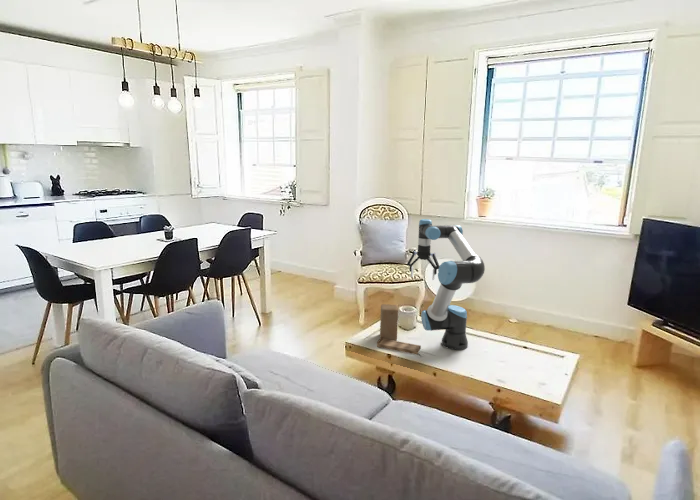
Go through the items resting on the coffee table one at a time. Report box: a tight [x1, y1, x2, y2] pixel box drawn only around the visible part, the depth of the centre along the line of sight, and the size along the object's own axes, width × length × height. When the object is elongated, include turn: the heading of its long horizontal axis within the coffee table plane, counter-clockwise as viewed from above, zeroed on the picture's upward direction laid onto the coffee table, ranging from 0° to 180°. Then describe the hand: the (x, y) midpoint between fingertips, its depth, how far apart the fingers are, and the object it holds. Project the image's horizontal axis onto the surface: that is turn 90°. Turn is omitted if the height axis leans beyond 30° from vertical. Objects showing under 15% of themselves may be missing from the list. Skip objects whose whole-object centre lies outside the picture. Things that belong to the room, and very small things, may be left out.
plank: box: [376, 337, 422, 355], centre depth 257 cm, size 24×8×3 cm, turn 67°
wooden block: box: [379, 304, 399, 341], centre depth 268 cm, size 10×10×20 cm
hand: (422, 278), depth 274 cm, fingers open, 13 cm apart
